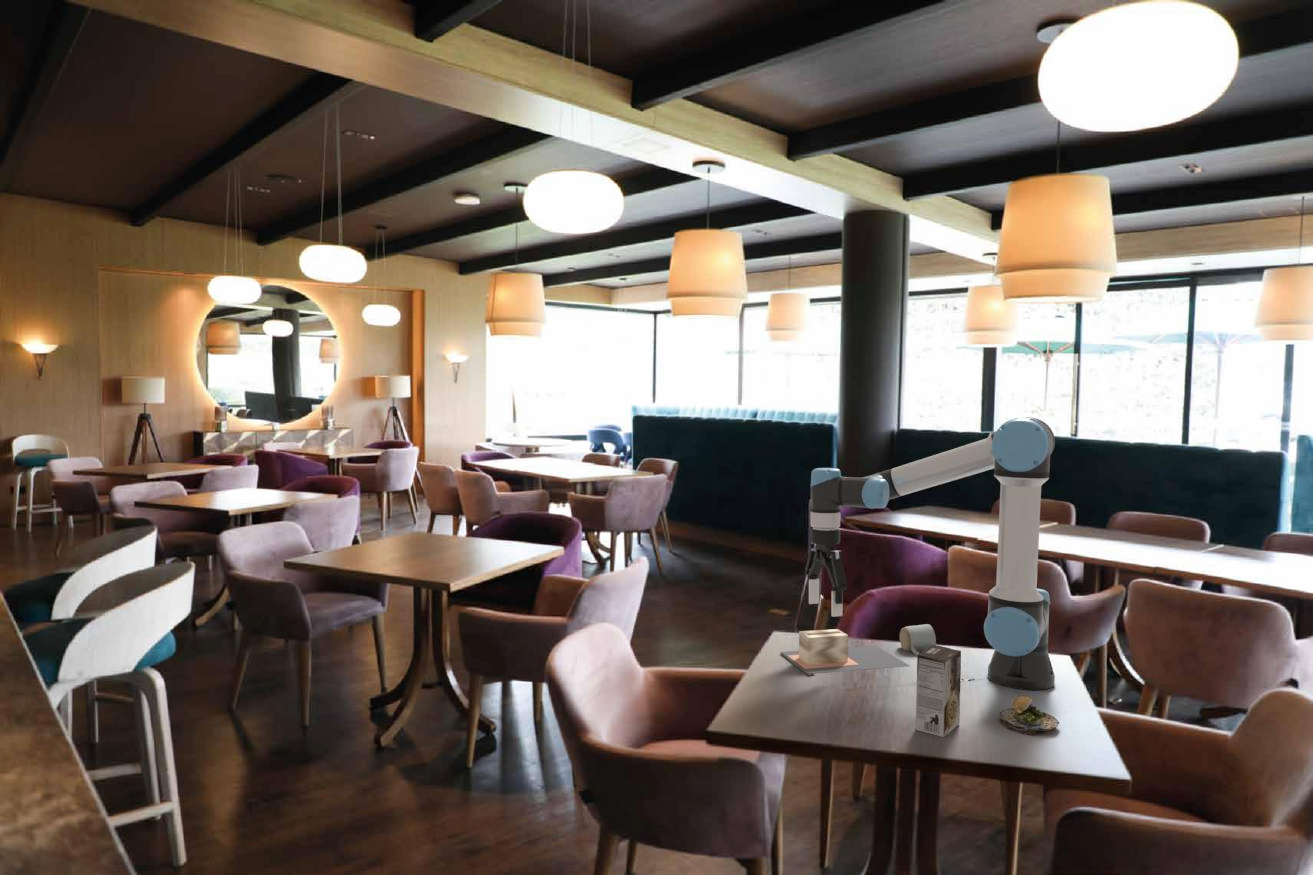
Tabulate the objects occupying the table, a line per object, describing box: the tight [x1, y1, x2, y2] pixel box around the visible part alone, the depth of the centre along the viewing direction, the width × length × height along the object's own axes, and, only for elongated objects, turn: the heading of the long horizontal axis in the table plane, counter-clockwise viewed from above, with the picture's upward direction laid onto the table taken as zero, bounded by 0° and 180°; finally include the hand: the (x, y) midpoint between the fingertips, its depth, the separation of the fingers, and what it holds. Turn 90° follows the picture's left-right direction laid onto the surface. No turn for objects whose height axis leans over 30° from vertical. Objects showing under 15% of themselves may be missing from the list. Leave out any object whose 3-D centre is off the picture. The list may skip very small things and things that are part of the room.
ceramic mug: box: [899, 623, 937, 656], centre depth 230 cm, size 10×8×7 cm
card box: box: [798, 628, 849, 665], centre depth 221 cm, size 11×6×7 cm, turn 104°
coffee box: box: [915, 645, 962, 738], centre depth 179 cm, size 9×6×16 cm
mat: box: [780, 644, 911, 677], centre depth 223 cm, size 18×28×1 cm, turn 104°
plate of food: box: [998, 691, 1060, 736], centre depth 181 cm, size 12×12×8 cm
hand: (825, 609), depth 220 cm, fingers open, 13 cm apart
